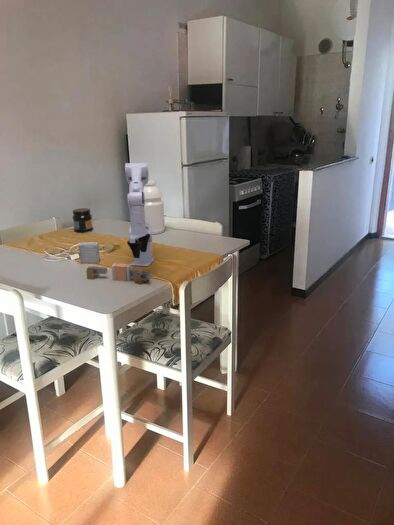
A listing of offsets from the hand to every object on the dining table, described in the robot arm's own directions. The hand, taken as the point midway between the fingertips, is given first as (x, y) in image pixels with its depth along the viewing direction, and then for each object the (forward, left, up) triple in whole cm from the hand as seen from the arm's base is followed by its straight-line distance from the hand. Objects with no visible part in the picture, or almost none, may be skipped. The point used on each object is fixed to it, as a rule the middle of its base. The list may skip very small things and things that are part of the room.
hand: (140, 254), depth 172 cm
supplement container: (-61, -57, -9) cm, 84 cm away
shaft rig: (+6, -7, -9) cm, 13 cm away
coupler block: (+5, -6, -9) cm, 12 cm away
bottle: (-65, -17, -9) cm, 67 cm away
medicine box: (-12, -29, -9) cm, 32 cm away
